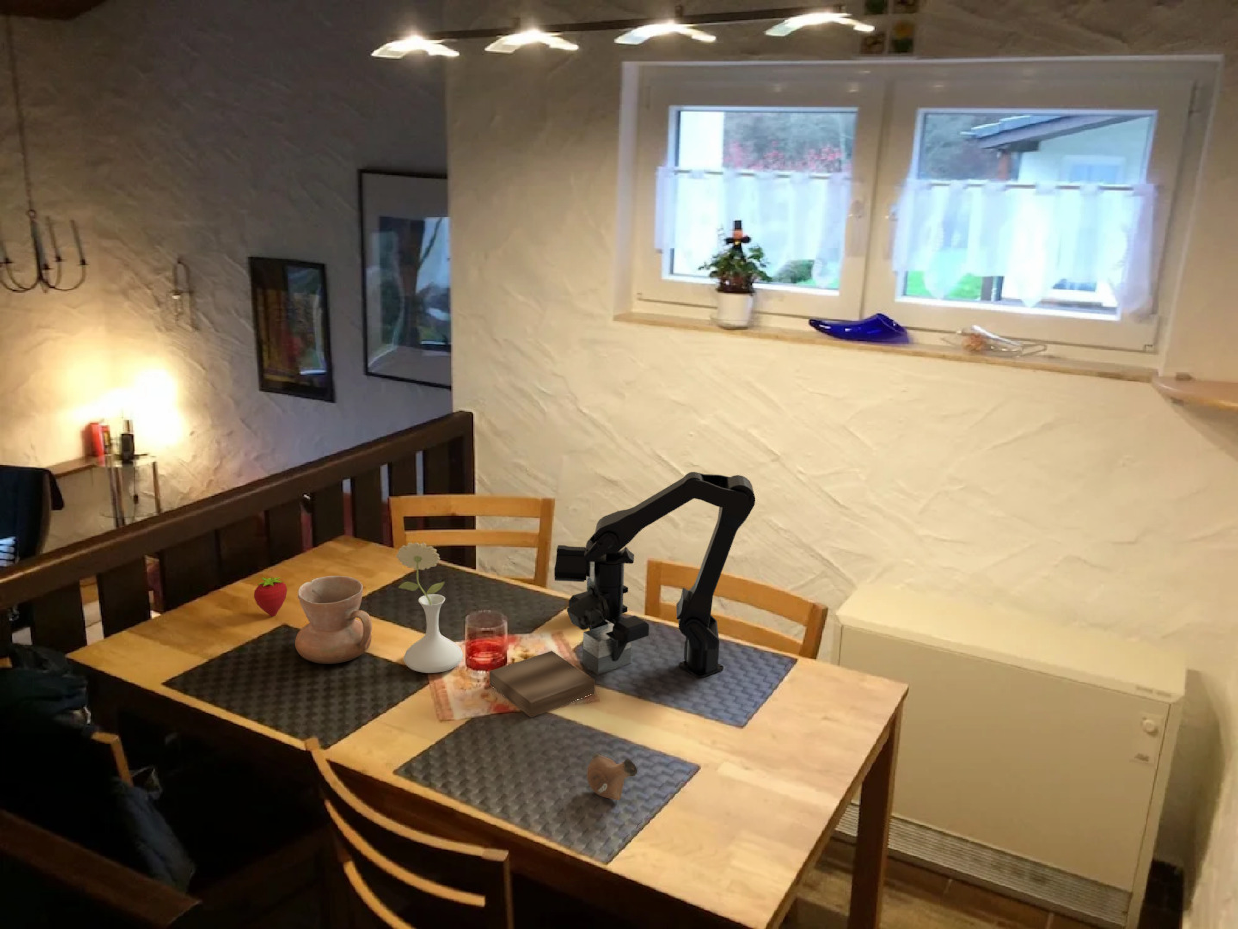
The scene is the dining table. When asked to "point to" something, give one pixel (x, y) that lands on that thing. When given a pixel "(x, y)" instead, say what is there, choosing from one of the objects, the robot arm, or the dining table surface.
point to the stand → (541, 683)
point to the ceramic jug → (333, 620)
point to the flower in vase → (428, 617)
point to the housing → (602, 650)
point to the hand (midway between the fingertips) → (607, 655)
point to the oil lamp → (609, 776)
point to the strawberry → (270, 595)
